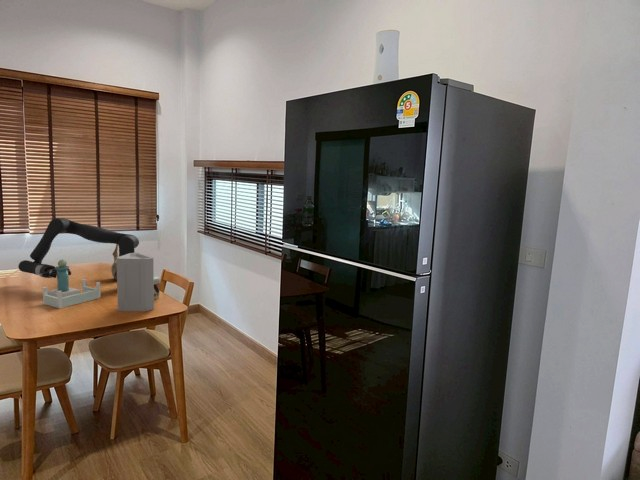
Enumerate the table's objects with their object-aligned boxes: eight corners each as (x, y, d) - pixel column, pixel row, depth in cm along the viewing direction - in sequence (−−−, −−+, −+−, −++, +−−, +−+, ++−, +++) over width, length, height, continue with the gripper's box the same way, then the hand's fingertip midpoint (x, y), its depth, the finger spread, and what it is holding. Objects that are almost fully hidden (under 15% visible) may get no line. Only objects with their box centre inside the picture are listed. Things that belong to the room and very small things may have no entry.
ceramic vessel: (130, 281, 275) (130, 244, 272) (116, 283, 269) (115, 245, 265) (121, 276, 287) (121, 240, 283) (107, 278, 280) (106, 241, 277)
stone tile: (46, 294, 238) (46, 291, 237) (67, 290, 248) (66, 286, 248) (59, 298, 232) (59, 294, 232) (80, 293, 243) (80, 289, 243)
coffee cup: (154, 300, 236) (154, 280, 234) (139, 299, 237) (139, 278, 236) (163, 296, 245) (163, 276, 243) (149, 294, 247) (149, 275, 245)
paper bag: (111, 306, 223) (109, 255, 219) (138, 301, 234) (137, 252, 230) (126, 315, 210) (125, 261, 206) (154, 309, 221) (154, 258, 217)
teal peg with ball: (71, 289, 244) (70, 258, 241) (66, 292, 237) (64, 261, 235) (60, 288, 243) (59, 258, 240) (54, 291, 237) (53, 260, 234)
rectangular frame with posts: (43, 303, 221) (42, 287, 220) (84, 294, 242) (84, 279, 241) (59, 308, 215) (58, 291, 214) (100, 297, 236) (100, 282, 235)
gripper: (32, 266, 238) (50, 270, 231) (57, 262, 251) (74, 266, 244) (33, 279, 239) (51, 283, 233) (58, 274, 252) (75, 278, 245)
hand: (63, 274), depth 238 cm, fingers open, 8 cm apart
